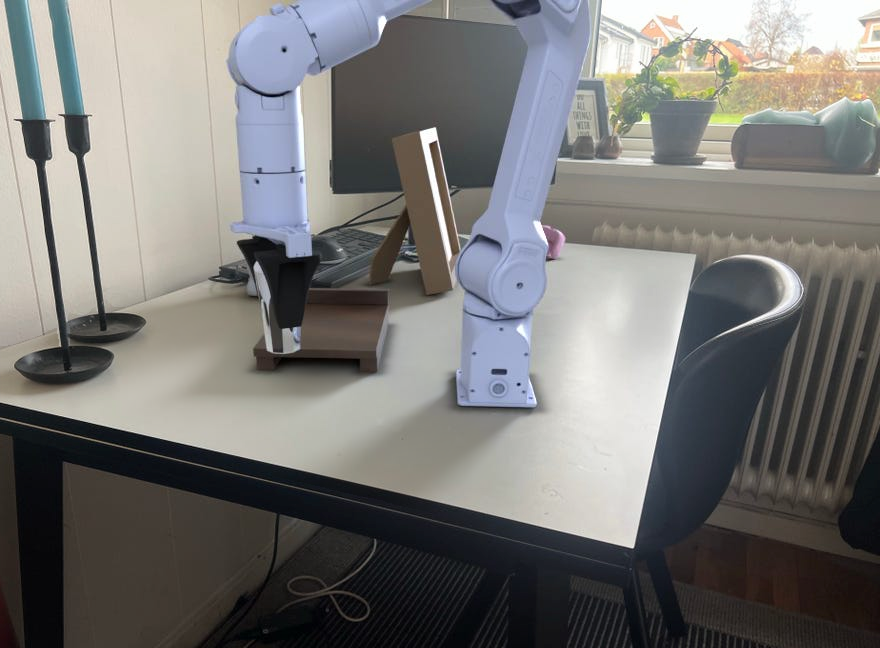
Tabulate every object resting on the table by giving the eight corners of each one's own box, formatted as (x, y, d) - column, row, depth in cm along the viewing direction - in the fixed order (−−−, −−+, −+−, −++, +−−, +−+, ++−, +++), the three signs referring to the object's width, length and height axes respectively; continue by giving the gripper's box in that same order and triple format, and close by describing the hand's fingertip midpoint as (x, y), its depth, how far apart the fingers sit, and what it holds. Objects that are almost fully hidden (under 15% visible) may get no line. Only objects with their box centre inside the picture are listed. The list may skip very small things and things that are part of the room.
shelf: (376, 375, 80) (376, 333, 79) (254, 373, 81) (251, 331, 79) (388, 323, 99) (388, 288, 97) (289, 322, 100) (287, 287, 98)
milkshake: (258, 360, 65) (250, 253, 62) (260, 342, 70) (253, 241, 67) (308, 358, 66) (303, 251, 62) (306, 340, 71) (301, 240, 67)
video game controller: (561, 264, 142) (569, 231, 143) (555, 257, 138) (563, 223, 139) (516, 258, 147) (524, 226, 148) (508, 252, 143) (516, 219, 144)
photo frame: (463, 266, 133) (467, 127, 125) (452, 296, 113) (457, 131, 104) (385, 264, 135) (384, 126, 127) (362, 292, 115) (359, 131, 107)
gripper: (210, 166, 67) (223, 304, 72) (246, 180, 55) (259, 347, 59) (283, 163, 70) (290, 297, 74) (333, 176, 57) (338, 336, 62)
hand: (281, 318), depth 67 cm, fingers closed on milkshake, 5 cm apart
